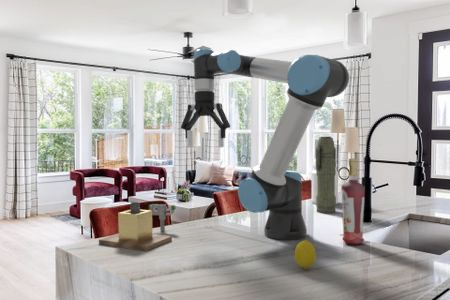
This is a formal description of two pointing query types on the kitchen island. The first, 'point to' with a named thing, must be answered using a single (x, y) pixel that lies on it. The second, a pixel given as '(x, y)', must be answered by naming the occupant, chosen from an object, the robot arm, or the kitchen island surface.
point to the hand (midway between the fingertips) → (205, 147)
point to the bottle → (314, 183)
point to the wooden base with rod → (141, 245)
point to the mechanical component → (161, 212)
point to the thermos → (326, 175)
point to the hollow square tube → (135, 225)
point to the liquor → (353, 207)
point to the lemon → (305, 254)
